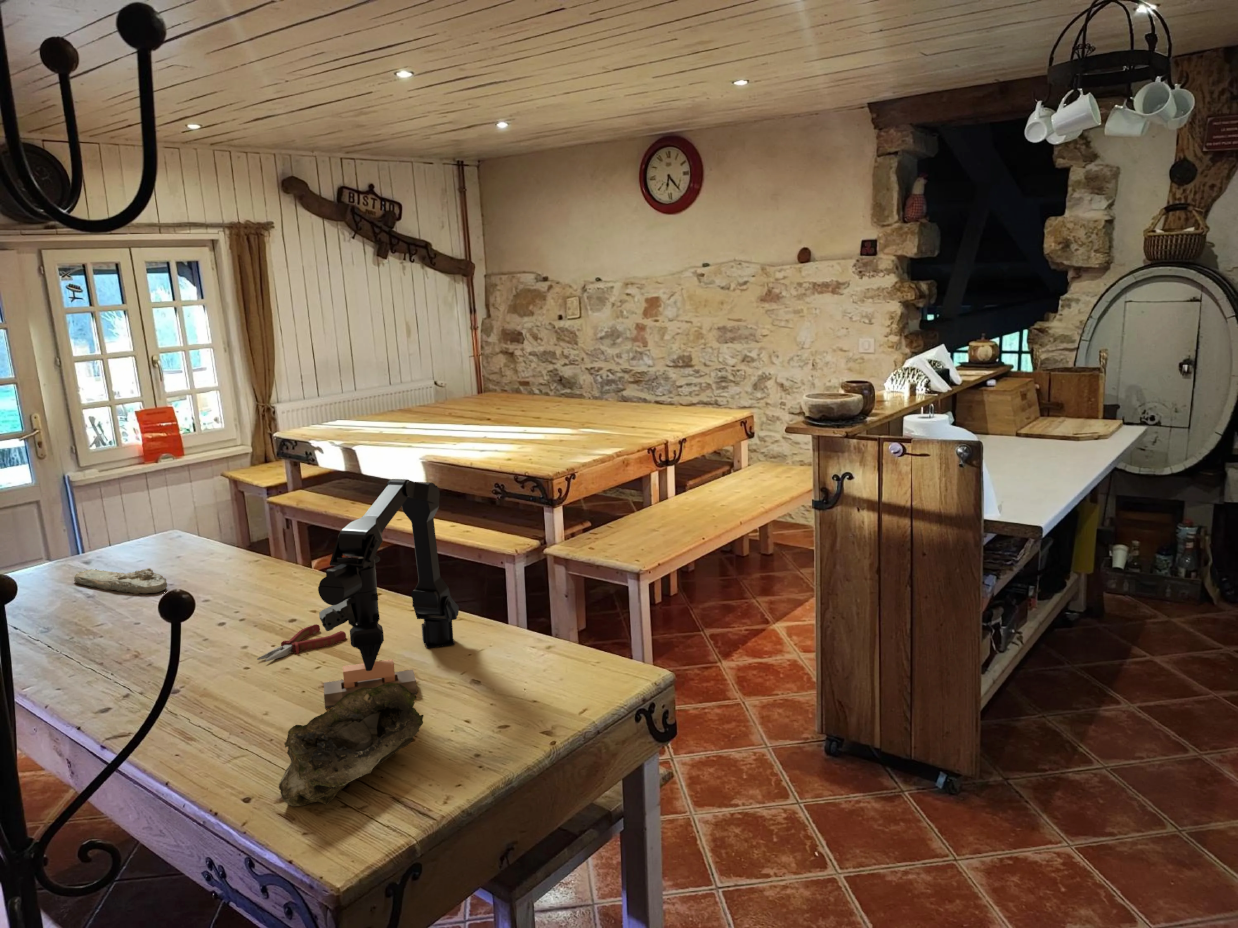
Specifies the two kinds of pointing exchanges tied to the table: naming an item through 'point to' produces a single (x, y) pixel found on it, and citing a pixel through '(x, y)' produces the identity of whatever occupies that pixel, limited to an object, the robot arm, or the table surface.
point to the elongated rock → (123, 581)
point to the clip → (368, 672)
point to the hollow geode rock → (347, 742)
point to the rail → (337, 691)
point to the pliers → (303, 643)
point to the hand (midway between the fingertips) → (367, 661)
